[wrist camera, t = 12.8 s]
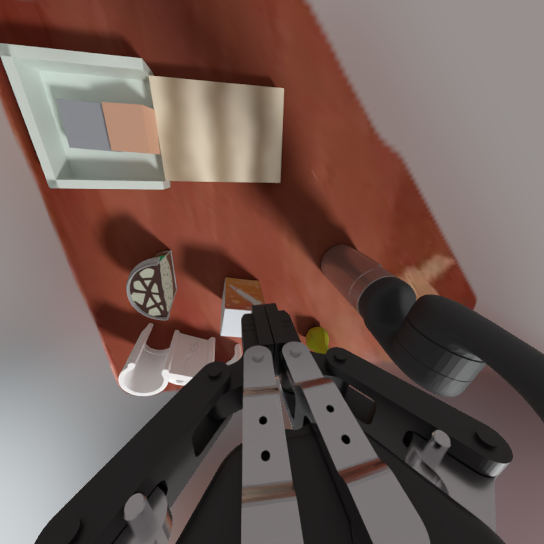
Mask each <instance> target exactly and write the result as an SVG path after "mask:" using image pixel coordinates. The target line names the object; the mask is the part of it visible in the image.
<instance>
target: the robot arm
mask: <svg viewBox="0 0 544 544" xmlns="http://www.w3.org/2000/svg"><path fill="white" fill-rule="evenodd" d="M321 271H322V273H323V274H324V275H325V276H326V277H327V279H328V280H329V281H330V282H331V283H332V284H333V285H334V287H335V288H336V289H337V290H338V291H339V292H340V293H341V294H342V295H343V296H344V298H345V299H346V300H347V301H348V302H349V303H350V304H351V305H352V306H353V308H354V309H355V310H356V311H357V312H358V313H359V314H360V315H361V316H362V317H363V319H364V323H365V325H366V327H367V328H368V330H369V331H370V332H371V333H372V335H373V336H374V337H375V339H376V340H377V341H378V342H379V344H380V345H381V346H382V348H383V349H384V350H385V352H386V353H387V354H388V356H389V357H390V358H391V359H392V360H393V362H394V363H395V364H396V365H397V366H398V367H399V368H400V369H401V370H402V371H403V372H404V373H405V374H406V375H407V376H408V377H409V378H410V379H411V380H413V381H414V382H415V383H417V384H418V385H420V386H421V387H423V388H425V389H426V390H428V391H430V392H432V393H434V394H437V395H440V396H444V397H453V396H457V395H459V394H460V393H462V392H463V391H464V390H465V389H466V388H467V387H468V385H469V384H470V383H471V382H472V380H473V379H474V378H475V377H476V376H477V374H478V373H479V372H480V371H481V370H482V369H483V367H484V366H485V365H486V364H487V365H489V366H490V367H491V368H492V369H493V370H494V371H496V372H497V373H498V374H499V375H500V376H501V377H502V378H503V379H505V380H506V381H507V382H508V383H509V384H510V385H511V386H512V387H513V388H514V389H515V390H516V391H517V392H518V393H519V394H520V395H521V396H522V397H523V398H524V399H525V400H526V401H527V402H528V404H529V405H530V406H531V407H532V408H533V410H534V411H535V412H536V413H537V414H538V416H539V417H540V418H541V420H542V421H543V422H544V354H542V353H541V352H539V351H538V350H536V349H535V348H533V347H531V346H530V345H528V344H527V343H525V342H524V341H522V340H520V339H518V338H517V337H516V336H514V335H512V334H511V333H509V332H508V331H506V330H504V329H503V328H501V327H500V326H498V325H496V324H495V323H493V322H492V321H490V320H488V319H487V318H485V317H483V316H481V315H480V314H478V313H477V312H475V311H473V310H471V309H469V308H467V307H466V306H464V305H462V304H460V303H457V302H455V301H453V300H450V299H448V298H445V297H442V296H438V295H424V296H422V297H420V298H419V299H418V300H417V301H416V295H415V292H414V290H413V289H412V288H411V286H410V285H408V284H407V283H406V282H404V281H402V280H401V279H399V278H398V277H396V276H394V275H393V274H391V273H390V272H388V271H387V270H385V269H384V268H382V267H381V265H380V264H379V263H377V262H376V261H374V260H373V259H371V258H369V257H368V256H366V255H365V254H363V253H362V252H360V251H358V250H355V249H353V248H352V247H350V246H348V245H344V244H341V245H336V246H334V247H332V248H330V249H329V250H328V251H327V252H326V253H325V254H324V256H323V258H322V260H321ZM241 333H242V347H243V355H242V357H241V358H240V359H239V360H238V361H236V362H235V363H233V364H230V365H227V364H226V363H224V362H220V361H215V362H211V363H209V364H207V365H205V366H204V367H203V368H202V369H201V370H200V371H199V372H198V373H197V374H196V375H195V376H194V377H193V378H192V379H191V380H190V381H189V382H188V383H187V384H186V385H185V386H184V387H183V388H182V389H181V390H180V391H179V392H178V393H177V394H176V395H175V396H174V397H173V398H172V399H171V400H170V401H169V402H168V403H167V404H166V405H165V406H164V407H163V408H162V409H161V410H160V411H159V412H158V413H157V414H156V415H155V416H154V417H153V418H152V419H151V420H150V421H149V422H148V423H147V424H146V425H145V426H144V427H143V428H142V429H141V430H140V431H139V432H138V433H137V434H136V435H135V436H134V437H133V438H132V439H131V440H130V441H129V442H128V443H127V444H126V445H125V446H124V447H123V448H122V449H121V450H120V451H119V452H118V453H117V454H116V455H115V456H114V457H113V458H112V459H111V460H110V461H109V462H108V463H107V464H106V465H105V466H104V467H103V468H102V469H101V470H100V471H99V472H98V473H97V474H96V475H95V476H94V477H93V478H92V479H91V480H90V481H89V482H88V483H87V484H86V485H85V486H84V487H83V488H82V489H81V490H80V491H79V492H78V493H77V494H76V495H75V496H74V497H73V498H72V499H71V500H70V501H69V502H68V503H67V504H66V505H65V506H64V507H63V508H62V509H61V510H60V511H59V512H58V513H57V514H56V515H55V516H54V517H53V518H52V519H51V520H50V521H49V523H48V524H47V525H46V526H45V528H44V529H43V530H42V532H41V533H40V535H39V536H38V538H37V540H36V542H35V544H167V542H168V540H169V537H170V535H171V531H172V526H173V517H172V512H171V510H170V508H171V506H172V505H173V503H174V502H175V500H176V499H177V497H178V496H179V494H180V493H181V491H182V490H183V488H184V487H185V485H186V484H187V483H188V481H189V479H190V478H191V477H192V475H193V474H194V472H195V471H196V469H197V468H198V466H199V465H200V463H201V462H202V460H203V459H204V457H205V456H206V454H207V453H208V452H209V450H210V448H211V447H212V446H213V444H214V443H215V441H216V440H217V438H218V437H219V435H220V434H221V432H222V431H223V430H224V428H225V427H226V425H227V424H228V422H229V421H230V419H231V417H232V415H233V413H235V412H237V411H239V410H241V409H243V443H241V444H240V445H238V446H237V447H236V448H234V449H233V450H232V451H231V452H230V453H229V454H228V455H227V457H226V458H225V459H224V461H223V462H222V463H221V465H220V467H219V468H218V470H217V472H216V473H215V475H214V477H213V479H212V480H211V482H210V484H209V486H208V487H207V489H206V491H205V493H204V494H203V496H202V498H201V500H200V502H199V503H198V505H197V507H196V509H195V510H194V512H193V514H192V516H191V517H190V519H189V521H188V523H187V525H186V526H185V528H184V530H183V531H182V533H181V535H180V537H179V538H178V540H177V542H176V544H505V543H504V542H503V540H502V539H501V538H499V536H498V535H497V534H496V515H495V481H494V480H495V479H496V478H497V477H498V475H499V474H500V473H501V472H502V471H503V470H504V469H505V468H506V466H507V465H508V464H509V463H510V462H511V461H512V459H513V454H512V450H511V448H510V447H509V445H508V443H507V442H506V441H505V440H504V439H503V438H502V437H501V436H500V435H499V434H498V433H497V432H496V431H495V430H493V429H491V428H490V427H489V426H487V425H485V424H483V423H482V422H479V421H478V420H476V419H474V418H472V417H470V416H468V415H467V414H465V413H463V412H461V411H459V410H457V409H455V408H454V407H451V406H450V405H448V404H446V403H444V402H442V401H440V400H439V399H437V398H435V397H433V396H431V395H429V394H427V393H426V392H424V391H422V390H420V389H418V388H416V387H414V386H412V385H411V384H409V383H407V382H405V381H403V380H401V379H399V378H398V377H396V376H394V375H392V374H390V373H388V372H386V371H384V370H382V369H381V368H379V367H377V366H375V365H373V364H371V363H369V362H368V361H366V360H364V359H362V358H360V357H358V356H356V355H355V354H353V353H351V352H349V351H347V350H345V349H343V348H339V347H334V348H330V349H329V350H327V352H326V354H322V353H315V352H312V351H309V349H308V348H307V347H306V346H305V345H304V344H302V343H301V341H300V339H299V337H298V334H297V332H296V330H295V327H294V325H293V322H292V320H291V318H290V315H289V314H288V313H287V312H285V311H284V310H282V311H278V309H277V306H276V304H275V303H271V304H264V305H263V304H259V305H252V306H251V313H248V314H244V315H243V316H242V318H241ZM277 376H279V379H280V391H281V394H282V397H283V401H284V404H285V406H286V410H287V413H288V416H289V419H290V422H291V425H292V430H290V429H285V428H284V422H283V416H282V409H281V403H280V396H279V390H278V388H276V381H275V377H277ZM349 385H351V386H353V387H354V388H356V389H358V390H359V391H361V392H362V393H364V394H365V395H367V396H369V397H370V398H372V399H373V400H374V402H373V401H371V400H370V399H368V398H367V397H365V396H363V395H362V394H360V393H359V392H357V391H355V390H354V389H352V388H351V387H349ZM399 457H400V458H399ZM403 460H404V461H403Z"/></svg>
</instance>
